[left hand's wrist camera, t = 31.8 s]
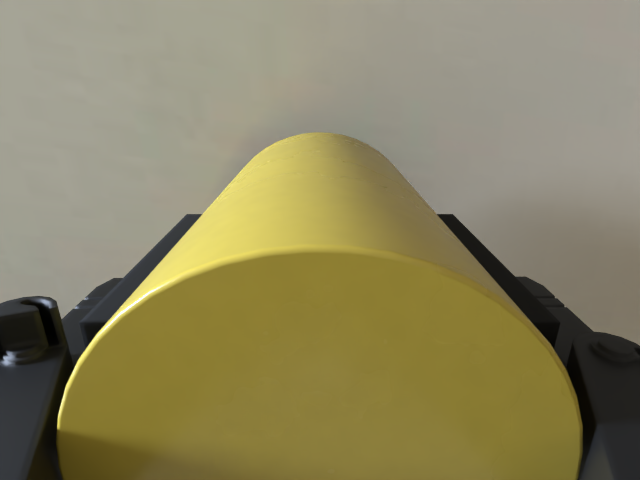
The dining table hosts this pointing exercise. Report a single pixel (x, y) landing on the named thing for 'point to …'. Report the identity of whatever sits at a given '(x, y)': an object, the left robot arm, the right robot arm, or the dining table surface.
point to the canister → (319, 344)
